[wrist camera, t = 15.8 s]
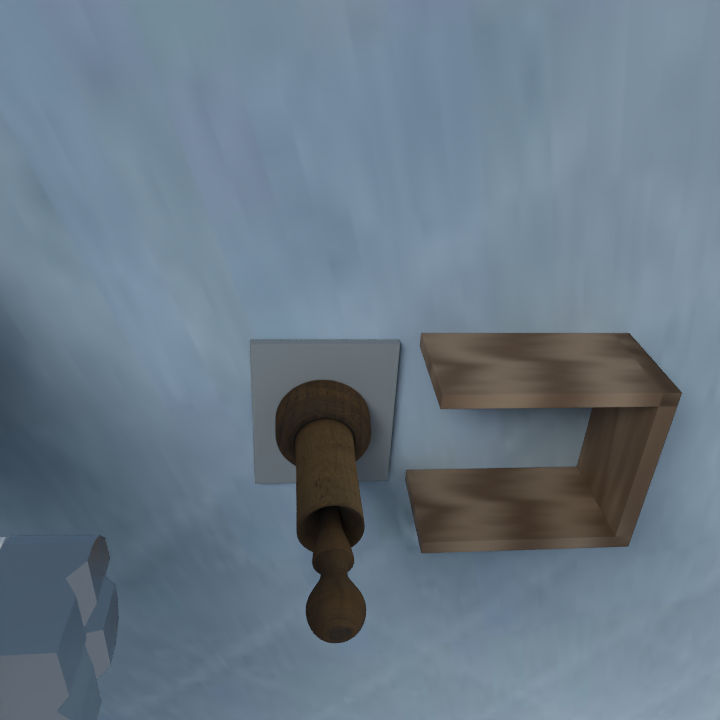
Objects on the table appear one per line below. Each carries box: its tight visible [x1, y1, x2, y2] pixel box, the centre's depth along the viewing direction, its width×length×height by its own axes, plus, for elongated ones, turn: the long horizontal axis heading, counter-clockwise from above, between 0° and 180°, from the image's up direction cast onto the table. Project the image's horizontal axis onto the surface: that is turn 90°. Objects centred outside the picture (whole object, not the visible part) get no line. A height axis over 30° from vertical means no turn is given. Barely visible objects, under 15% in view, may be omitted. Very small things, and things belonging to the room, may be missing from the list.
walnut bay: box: [405, 333, 682, 553], centre depth 47 cm, size 15×13×8 cm
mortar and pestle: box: [275, 380, 372, 643], centre depth 41 cm, size 7×6×18 cm
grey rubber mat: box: [250, 340, 400, 484], centre depth 49 cm, size 10×12×1 cm
